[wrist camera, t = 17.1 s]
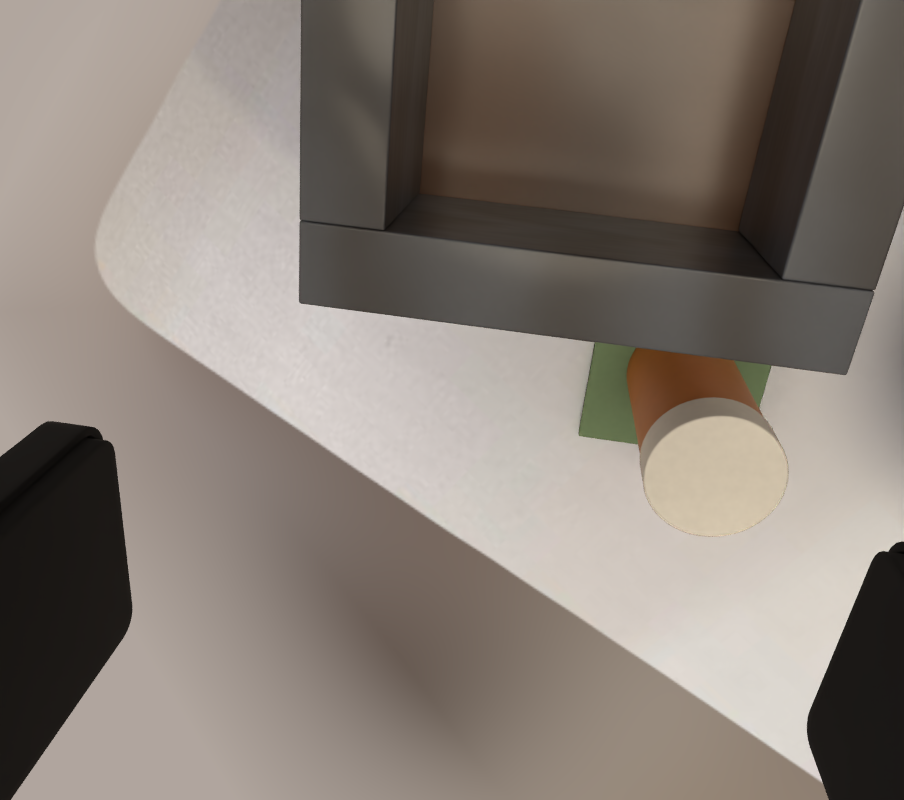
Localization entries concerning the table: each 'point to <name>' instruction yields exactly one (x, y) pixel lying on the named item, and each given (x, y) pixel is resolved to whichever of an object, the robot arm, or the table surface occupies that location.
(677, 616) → the table surface
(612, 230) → the metal storage bin
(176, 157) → the table surface
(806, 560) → the table surface
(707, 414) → the medicine bottle
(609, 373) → the mat
